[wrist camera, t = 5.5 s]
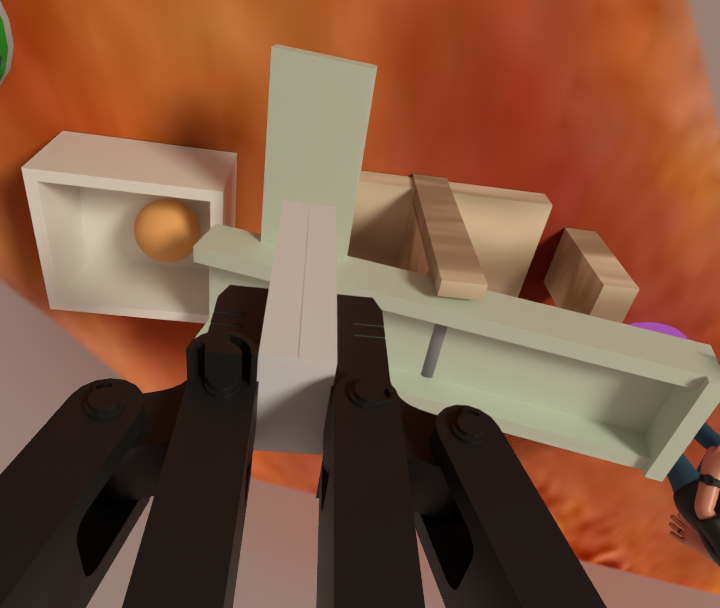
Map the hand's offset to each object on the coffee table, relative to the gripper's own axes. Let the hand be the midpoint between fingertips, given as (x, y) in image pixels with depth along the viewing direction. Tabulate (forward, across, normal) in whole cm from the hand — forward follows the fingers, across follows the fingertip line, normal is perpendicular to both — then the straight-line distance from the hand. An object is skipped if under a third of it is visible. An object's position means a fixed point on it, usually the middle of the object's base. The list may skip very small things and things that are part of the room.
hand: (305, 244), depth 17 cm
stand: (+16, +9, -8) cm, 20 cm away
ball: (+14, -7, -8) cm, 18 cm away
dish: (+16, -9, -8) cm, 20 cm away
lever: (+7, +7, -4) cm, 11 cm away
